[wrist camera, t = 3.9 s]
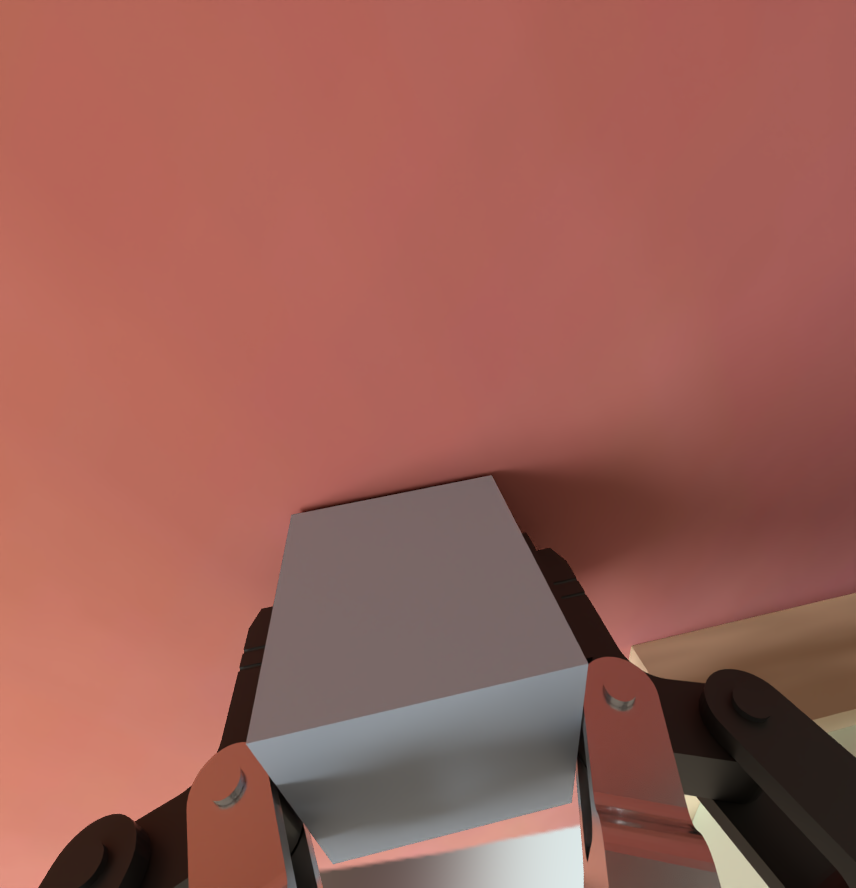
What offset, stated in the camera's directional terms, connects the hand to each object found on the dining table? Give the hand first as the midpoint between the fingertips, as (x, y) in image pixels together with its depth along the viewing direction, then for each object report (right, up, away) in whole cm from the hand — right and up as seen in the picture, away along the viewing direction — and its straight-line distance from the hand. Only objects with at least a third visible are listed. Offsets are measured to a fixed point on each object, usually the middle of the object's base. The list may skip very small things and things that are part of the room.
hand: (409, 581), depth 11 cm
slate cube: (0, 0, 0) cm, 0 cm away
